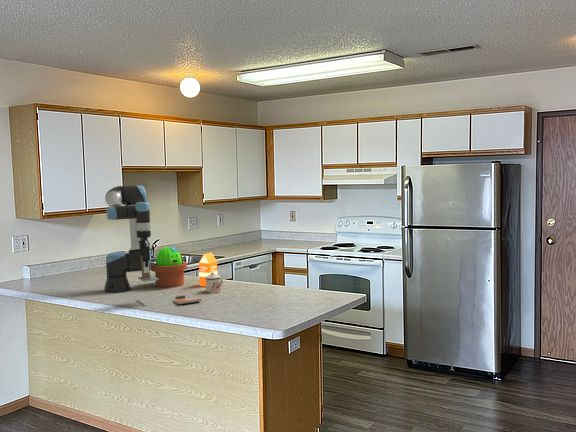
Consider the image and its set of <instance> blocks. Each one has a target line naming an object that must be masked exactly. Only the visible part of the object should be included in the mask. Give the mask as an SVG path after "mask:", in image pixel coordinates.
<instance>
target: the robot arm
mask: <svg viewBox="0 0 576 432" xmlns="http://www.w3.org/2000/svg"><path fill="white" fill-rule="evenodd" d="M104 198H105V203H106V204H107V207H106V219H108V220H109V221H110V220H112V221H116V220H117V221H118V220H128V221H129V223H128V224H129V233H130V234H129V235H130V236H129V237H130V248H129V250H128V253H126V251H125V250H120V251H114V252H110V253H108V254H107V255H106V257H105V266H106V281H105V283H104V292H106V293H121V292H127V291H129V290H131V284H130V282H129V280H128V276H127V273H134V272H142V269H141V256H140V255H144V260H143V262H144V273H149V269H151V264H152V262H151V261H152V254H151V253H152V252H151V250H150V249H151V248H150V246H151V245H150V244H151V243H150V242H149V240H148V239H149V238H150V237H151V235H152V233H151V214H150V213H151V212H150V210H151V208H150V203H149V202H148V199H147V192H146V189H145V186H143V185H136V184H134V185H119V186H113V187H112V188H111V189H109V190H108V191H107V192H106V193H105V197H104Z"/></svg>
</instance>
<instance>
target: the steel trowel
mask: <svg viewBox="0 0 576 432" xmlns="http://www.w3.org/2000/svg"><path fill="white" fill-rule="evenodd" d="M140 256H141V269H142V271H141V276H138V277H137V279H138V280H139V281H141V282H143V283H146V282H154V281H155V282H156V280H159V279H158V278H157V277H155V276H154V275H151V271H150V270H151V268H149V273H144V262H143V260H144V255H140Z"/></svg>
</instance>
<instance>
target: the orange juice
mask: <svg viewBox="0 0 576 432" xmlns="http://www.w3.org/2000/svg"><path fill="white" fill-rule="evenodd" d="M198 271H199V275H198V276H199V286H200V287H206V279H205V277H206V276H208V275H210V274H211V272H214V274H216V275H218V261H217V259H216V257H215V256H214V254H213V252H208V253H204V254H203V255H202V257H201V258H200V260H199V262H198Z"/></svg>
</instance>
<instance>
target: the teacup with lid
mask: <svg viewBox="0 0 576 432" xmlns="http://www.w3.org/2000/svg"><path fill="white" fill-rule="evenodd" d="M205 279H206V286H205V292H207V293H214V294H219V293H221V291H222V289H221V286H222V285H223V283H224V279H223V278H221V275H219V274H217V275H216V274H214V272H211V274H210V275H208V276H206V277H205Z"/></svg>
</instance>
